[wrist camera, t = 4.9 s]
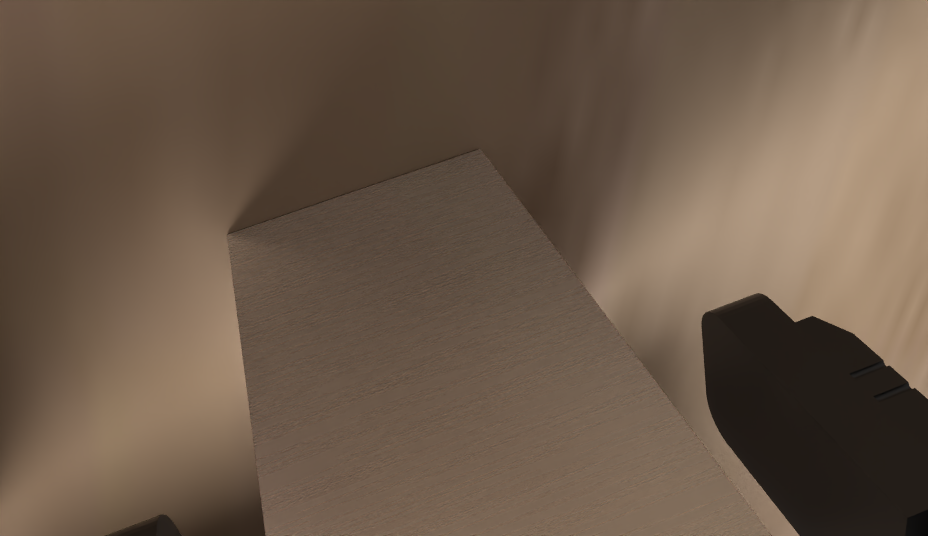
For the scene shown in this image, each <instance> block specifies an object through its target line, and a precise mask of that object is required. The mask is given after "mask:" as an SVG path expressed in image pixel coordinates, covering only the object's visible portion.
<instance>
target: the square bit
mask: <svg viewBox="0 0 928 536" xmlns="http://www.w3.org/2000/svg"><path fill="white" fill-rule="evenodd" d="M227 239H228V247H229V255H230V263H231V270H232V278H233V286H234V294H235V301H236V309H237V317H238V325H239V332H240V340H241V348H242V356H243V364H244V371H245V379H246V387H247V395H248V402H249V410H250V418H251V426H252V433H253V441H254V449H255V457H256V464H257V472H258V480H259V488H260V495H261V503H262V511H263V519H264V527H265V534H266V536H772V535H771V534H770V533H769V531H768V530H767V529H766V527H765V526H764V525H763V523H762V522H761V521H760V519H759V518H758V517H757V515H756V514H755V513H754V511H753V510H752V509H751V507H750V506H749V505H748V503H747V502H746V501H745V499H744V498H743V497H742V495H741V494H740V493H739V491H738V490H737V489H736V487H735V486H734V485H733V483H732V482H731V481H730V479H729V478H728V477H727V475H726V474H725V473H724V471H723V470H722V469H721V468H720V466H719V465H718V464H717V462H716V461H715V460H714V458H713V457H712V456H711V454H710V453H709V452H708V450H707V449H706V448H705V446H704V445H703V444H702V442H701V441H700V440H699V438H698V437H697V436H696V434H695V433H694V432H693V430H692V429H691V428H690V426H689V425H688V424H687V422H686V421H685V420H684V418H683V417H682V416H681V414H680V413H679V412H678V410H677V409H676V408H675V406H674V405H673V404H672V402H671V401H670V400H669V398H668V397H667V396H666V394H665V393H664V392H663V390H662V389H661V388H660V386H659V385H658V384H657V382H656V381H655V380H654V379H653V377H652V376H651V375H650V373H649V372H648V371H647V369H646V368H645V367H644V365H643V364H642V363H641V361H640V360H639V359H638V357H637V356H636V355H635V353H634V352H633V351H632V349H631V348H630V347H629V345H628V344H627V343H626V341H625V340H624V339H623V337H622V336H621V335H620V333H619V332H618V331H617V329H616V328H615V327H614V325H613V324H612V323H611V321H610V320H609V319H608V317H607V316H606V315H605V313H604V312H603V311H602V309H601V308H600V307H599V305H598V304H597V303H596V301H595V300H594V299H593V297H592V296H591V295H590V294H589V292H588V291H587V290H586V288H585V287H584V286H583V284H582V283H581V282H580V280H579V279H578V278H577V276H576V275H575V274H574V272H573V271H572V270H571V268H570V267H569V266H568V264H567V263H566V262H565V260H564V259H563V258H562V256H561V255H560V254H559V252H558V251H557V250H556V248H555V247H554V246H553V244H552V243H551V242H550V240H549V239H548V238H547V236H546V235H545V234H544V232H543V231H542V230H541V228H540V227H539V226H538V224H537V223H536V222H535V220H534V219H533V218H532V216H531V215H530V214H529V212H528V211H527V210H526V209H525V207H524V206H523V205H522V203H521V202H520V201H519V199H518V198H517V197H516V195H515V194H514V193H513V191H512V190H511V189H510V187H509V186H508V185H507V183H506V182H505V181H504V179H503V178H502V177H501V175H500V174H499V173H498V171H497V170H496V169H495V167H494V166H493V165H492V163H491V162H490V161H489V159H488V158H487V157H486V155H485V154H484V153H483V151H482V150H481V149H478V150H475V151H472V152H469V153H466V154H463V155H460V156H457V157H454V158H451V159H449V160H446V161H443V162H440V163H437V164H434V165H431V166H428V167H425V168H422V169H419V170H416V171H413V172H410V173H407V174H404V175H401V176H398V177H395V178H392V179H390V180H387V181H384V182H381V183H378V184H375V185H372V186H369V187H366V188H363V189H360V190H357V191H354V192H351V193H348V194H345V195H342V196H339V197H336V198H333V199H331V200H328V201H325V202H322V203H319V204H316V205H313V206H310V207H307V208H304V209H301V210H298V211H295V212H292V213H289V214H286V215H283V216H280V217H277V218H274V219H272V220H269V221H266V222H263V223H260V224H257V225H254V226H251V227H248V228H245V229H242V230H239V231H236V232H233V233H230V234H227Z"/></svg>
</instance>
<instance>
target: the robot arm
mask: <svg viewBox="0 0 928 536" xmlns="http://www.w3.org/2000/svg"><path fill="white" fill-rule="evenodd" d="M702 339H703V353H704V367H705V381H706V395H707V401H708V405H709V409H710V412H711V415H712V417H713V420H714V422H715V424H716V426H717V428H718V430H719V432H720V434H721V435H722V437H723V438H724V440H725V441H726V442H727V444H728V445H729V446H730V448H731V449H732V450H733V451H734V453H735V454H736V455H737V457H738V458H739V459H740V460H741V462H742V463H743V464H744V465H745V467H746V468H747V469H748V471H749V472H750V473H751V474H752V476H753V477H754V478H755V479H756V481H757V482H758V483H759V485H760V486H761V487H762V488H763V490H764V491H765V492H766V493H767V495H768V496H769V497H770V499H771V500H772V501H773V502H774V504H775V505H776V506H777V507H778V509H779V510H780V511H781V512H782V514H783V515H784V516H785V518H786V519H787V520H788V521H789V523H790V524H791V525H792V526H793V528H794V529H795V530H796V532H797V533H798V534H799V535H800V536H928V399H927V398H926V397H925V396H923V395H922V394H921V393H920V392H919V391H918V390H917V389H915V388H914V389H911V388H910V386H909V383H908V381H906V380H905V379H904V378H903V377H902V376H901V375H900V374H898V373H897V372H896V371H895V370H894V369H893V368H892V367H890V366H886V365H885V364H884V361H883V359H881V358H880V357H879V356H878V355H877V354H876V353H875V352H873V351H872V350H871V349H870V348H869V347H868V346H867V345H866V344H864V343H863V342H862V341H861V340H860V339H859V338H858V337H856V336H855V335H854V334H853V333H851V332H848V331H846V330H844V329H841V328H839V327H837V326H835V325H832V324H830V323H828V322H825V321H823V320H821V319H818V318H816V317H814V316H811V317H808V318H806V319H803V320H800V321H798V322H794V321H793V320H792V319H791V318H790V317H789V316H788V315H786V314H785V313H784V312H783V311H782V310H781V309H780V308H779V307H778V306H777V305H776V304H775V303H774V302H773V301H772V300H771V299H769V298H768V297H767V296H765V295H763V294H760V293H757V294H754V295H751V296H749V297H746V298H743V299H741V300H738V301H735V302H733V303H730V304H727V305H725V306H722V307H719V308H717V309H714V310H711V311H709V312H706V313H705V314H704V315H703V317H702ZM106 536H182V535H181V534H180V532H179V531H178V529H177V527H176V526H175V524H174V523H173V522H172V520H171V519H170V518H169V517H168V516H167V515H164V514H162V515H159V516H157V517H154V518H151V519H149V520H146V521H143V522H141V523H138V524H135V525H133V526H130V527H127V528H125V529H122V530H119V531H117V532H114V533H111V534H109V535H106Z"/></svg>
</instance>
